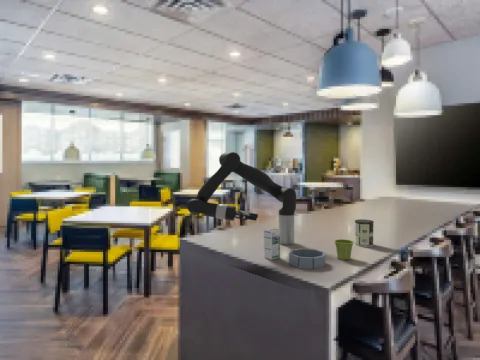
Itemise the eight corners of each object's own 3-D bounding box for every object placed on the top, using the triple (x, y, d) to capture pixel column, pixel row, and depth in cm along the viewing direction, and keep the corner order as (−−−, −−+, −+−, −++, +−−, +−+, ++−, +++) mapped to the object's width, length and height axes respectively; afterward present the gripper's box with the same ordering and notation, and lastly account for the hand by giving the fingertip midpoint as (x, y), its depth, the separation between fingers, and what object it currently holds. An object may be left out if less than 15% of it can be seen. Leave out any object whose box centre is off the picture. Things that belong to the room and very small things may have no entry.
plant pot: (331, 259, 167) (331, 242, 166) (337, 254, 175) (337, 238, 174) (350, 262, 162) (350, 244, 161) (355, 257, 169) (356, 240, 169)
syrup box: (271, 260, 166) (271, 231, 165) (263, 257, 171) (263, 229, 170) (280, 258, 169) (280, 229, 168) (272, 255, 174) (272, 227, 173)
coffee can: (367, 242, 202) (367, 219, 201) (376, 246, 191) (377, 222, 191) (351, 243, 200) (351, 219, 199) (360, 247, 190) (360, 222, 189)
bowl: (292, 257, 170) (292, 247, 170) (325, 259, 166) (325, 249, 166) (287, 267, 155) (287, 256, 154) (324, 270, 150) (324, 259, 150)
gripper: (224, 206, 164) (257, 211, 162) (228, 203, 178) (259, 208, 176) (222, 221, 164) (255, 226, 162) (226, 217, 178) (257, 222, 177)
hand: (257, 217), depth 169 cm, fingers open, 8 cm apart
